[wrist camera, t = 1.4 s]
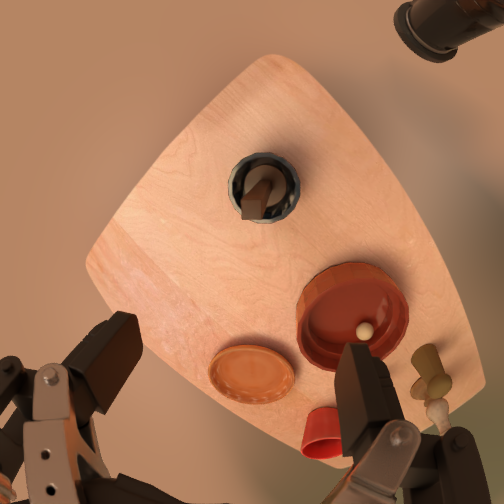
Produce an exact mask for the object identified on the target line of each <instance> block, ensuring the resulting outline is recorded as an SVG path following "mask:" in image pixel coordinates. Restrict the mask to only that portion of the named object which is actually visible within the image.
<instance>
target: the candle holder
mask: <svg viewBox="0 0 504 504" xmlns="http://www.w3.org/2000/svg"><path fill="white" fill-rule="evenodd" d="M410 393H411V396H412V398H413V399H416V400H425V402H424V406H425V407H427V409H426V415H427V417H428V418H429V419H430V420H431V421H432V422H434V423H435V424H436V426H437V428H438V430H439V433H440V435H439V436H443V435H444V434H445V433H446V432H447V431H448V430H449V429H450V428H452V427H451V424H450V422H449V418H448V411H449V405H448V402H447V400H446V399H444V398H442V397H441V398H438V399H433V398H431V397H430V396H429V395H428V393H427V384H426V383H425V381H424V380H423V379H422V377H421V378H420V379H419V380H418V381H416V383H415V384H414V385H413V386H412V388H411V391H410Z"/></svg>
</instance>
